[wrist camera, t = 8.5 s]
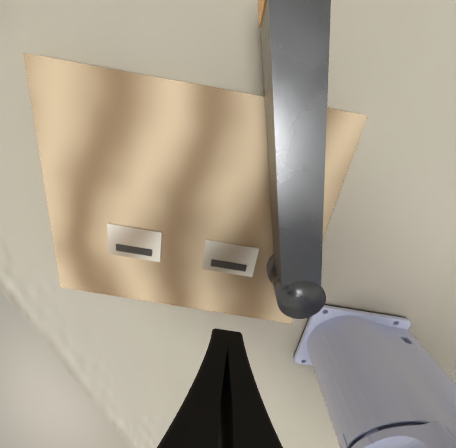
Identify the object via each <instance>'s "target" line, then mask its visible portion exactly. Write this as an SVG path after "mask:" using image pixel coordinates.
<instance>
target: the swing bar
mask: <svg viewBox="0 0 456 448" xmlns="http://www.w3.org/2000/svg"><path fill="white" fill-rule="evenodd" d="M330 7H331V0H259V1H258V11H259V28H261V44H262V61H263V78H264V95H265V112H266V130H267V147H268V164H269V181H270V198H271V215H272V232H273V249H274V266H273V268H272V270H271V280H272V284H273V288H274V292H275V296H276V300H277V304H278V307H279V309H280V311H281V312H282V313H283V314H285V315H286V316H288V317H291V318H295V319H304V318H308V317H311V316H313V315H315V314H317V313H318V312H319V311H320V310H321V309H322V308H323V306H324V304H325V301H326V295H325V292H324V290H323V288H322V287H321V267H322V238H323V209H324V180H325V151H326V122H327V93H328V64H329V36H330Z"/></svg>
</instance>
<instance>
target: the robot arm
mask: <svg viewBox="0 0 456 448" xmlns="http://www.w3.org/2000/svg"><path fill="white" fill-rule="evenodd" d="M323 310H325V311H323ZM410 325H411V322H410V321H409V320H408V319H407V318H402V317H396V316H390V315H383V314H377V313H371V312H365V311H358V310H352V309H346V308H340V307H334V306H327V305H324V306H323V308H322V309H321V310H320V311H319V312H318V313H317V314H315V315H313V316H311V317H310V318H309V321H308V323H307V326H306V328H305V331H304V333H303V336H302V338H301V341H300V343H299V346H298V348H297V351H296V353H295V356H294V361H295V362H296V363H298V364H304V365H310V366H313V368H314V371H315V374H316V377H317V380H318V383H319V386H320V389H321V392H322V395H323V398H324V401H325V404H326V407H327V410H328V412H329V415H330V418H331V421H332V424H333V427H334V430H335V433H336V436H337V439H338V442H339V445H340V448H456V383H455V382H454V381H453V379H452V378H451V377H450V376H449V375H448V374H447V373H446V372H445V371H444V369H443V368H442V367H441V366H440V365H439V364H438V363H437V362H436V361H435V360H434V358H433V357H432V356H431V355H430V354H429V353H428V352H427V351H426V350H425V349H424V347H423V346H422V345H421V344H420V343H419V342H418V341H417V340H416V339H415V337H414V336H413V335H412V334H411V333H410V332H409V331H408V329H409V327H410ZM157 448H283V447H282V445H281V443H280V441H279V439H278V436H277V434H276V432H275V430H274V428H273V425H272V423H271V421H270V418H269V416H268V414H267V411H266V409H265V406H264V404H263V401H262V399H261V396H260V393H259V391H258V388H257V385H256V382H255V379H254V376H253V374H252V371H251V367H250V364H249V361H248V357H247V354H246V350H245V346H244V342H243V337H242V334H241V333H240V332H234V331H228V330H221V329H213V330H212V335H211V339H210V343H209V346H208V349H207V352H206V355H205V357H204V360H203V362H202V364H201V367H200V369H199V371H198V374H197V376H196V378H195V380H194V382H193V384H192V386H191V388H190V390H189V392H188V394H187V396H186V398H185V400H184V402H183V404H182V406H181V408H180V409H179V411H178V413H177V415H176V417H175V418H174V420H173V422H172V424H171V425H170V427H169V429H168V430H167V432H166V434H165V435H164V437H163V439H162V440H161V442H160V444H159V445H158V447H157Z"/></svg>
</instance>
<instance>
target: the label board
mask: <svg viewBox="0 0 456 448" xmlns="http://www.w3.org/2000/svg"><path fill="white" fill-rule="evenodd" d="M23 54H24V60H25V66H26V73H27V79H28V85H29V91H30V98H31V104H32V110H33V117H34V123H35V129H36V136H37V142H38V148H39V154H40V161H41V167H42V173H43V180H44V186H45V192H46V199H47V205H48V211H49V217H50V224H51V230H52V236H53V243H54V249H55V255H56V262H57V268H58V274H59V280H60V287H62V288H69V289H75V290H81V291H88V292H94V293H100V294H107V295H113V296H119V297H126V298H132V299H138V300H145V301H151V302H157V303H164V304H170V305H176V306H183V307H189V308H195V309H202V310H208V311H214V312H221V313H227V314H233V315H240V316H246V317H252V318H259V319H265V320H271V321H278V322H284V323H290V324H292V322H293V319H294V318H291V317H288V316H286V315H285V314H283V313H282V312H281V311H280V309H279V307H278V304H277V300H276V296H275V292H274V288H273V284H272V280H271V270H272V268H273V266H274V249H273V232H272V215H271V198H270V181H269V164H268V147H267V130H266V112H265V97H263V96H258V95H252V94H247V93H241V92H236V91H230V90H225V89H219V88H214V87H208V86H203V85H197V84H192V83H186V82H181V81H175V80H170V79H164V78H159V77H153V76H148V75H142V74H137V73H131V72H126V71H120V70H115V69H109V68H104V67H98V66H93V65H87V64H82V63H76V62H71V61H65V60H60V59H54V58H48V57H43V56H37V55H32V54H26V53H23ZM367 116H368V115H363V114H357V113H352V112H346V111H341V110H335V109H330V108H327V122H326V151H325V180H324V209H323V237H324V234H325V231H326V229H327V226H328V223H329V220H330V218H331V215H332V212H333V210H334V207H335V204H336V201H337V199H338V196H339V193H340V190H341V188H342V185H343V182H344V179H345V177H346V174H347V171H348V168H349V166H350V163H351V160H352V158H353V155H354V152H355V149H356V147H357V144H358V141H359V138H360V136H361V133H362V130H363V127H364V125H365V122H366V119H367ZM322 240H323V238H322Z"/></svg>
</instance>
